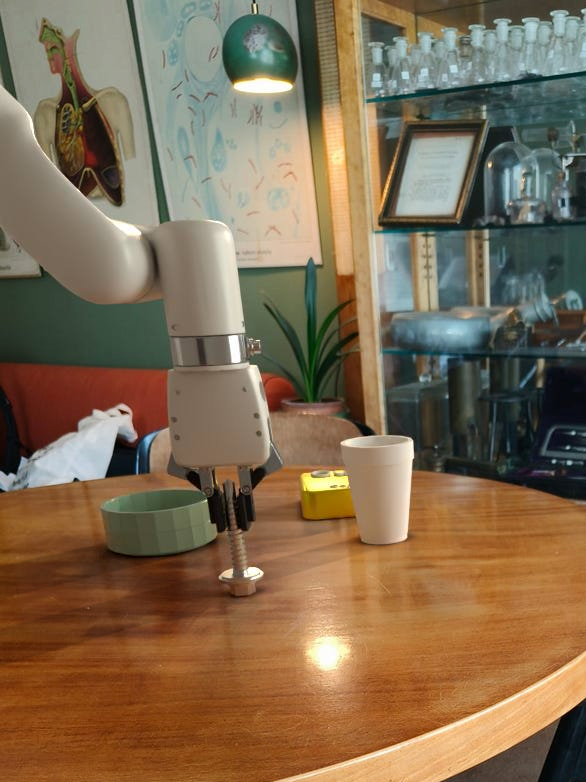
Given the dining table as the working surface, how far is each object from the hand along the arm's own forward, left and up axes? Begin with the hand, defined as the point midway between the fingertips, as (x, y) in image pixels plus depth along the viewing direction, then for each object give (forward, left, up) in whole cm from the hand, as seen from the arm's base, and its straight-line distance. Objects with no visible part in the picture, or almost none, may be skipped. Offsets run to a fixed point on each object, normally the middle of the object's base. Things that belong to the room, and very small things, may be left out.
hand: (234, 527), depth 97 cm
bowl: (-14, +24, -8) cm, 29 cm away
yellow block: (+11, +40, -8) cm, 42 cm away
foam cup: (+16, +20, -8) cm, 27 cm away
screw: (0, 0, -8) cm, 8 cm away
